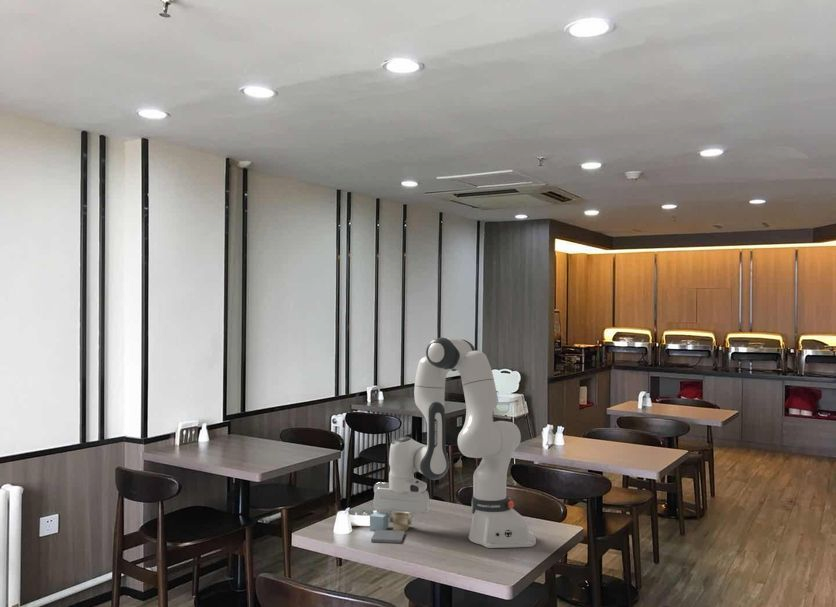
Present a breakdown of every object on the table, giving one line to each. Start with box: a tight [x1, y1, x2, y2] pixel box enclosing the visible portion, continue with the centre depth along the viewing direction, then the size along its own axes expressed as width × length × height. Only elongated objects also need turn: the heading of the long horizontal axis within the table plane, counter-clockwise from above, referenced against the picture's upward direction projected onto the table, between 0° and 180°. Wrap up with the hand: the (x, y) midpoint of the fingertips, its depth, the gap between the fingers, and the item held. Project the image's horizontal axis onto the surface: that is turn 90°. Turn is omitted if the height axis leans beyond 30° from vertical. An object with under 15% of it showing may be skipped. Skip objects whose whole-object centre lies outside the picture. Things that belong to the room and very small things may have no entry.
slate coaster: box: [370, 529, 406, 544], centre depth 228 cm, size 10×10×1 cm
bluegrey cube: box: [369, 511, 389, 532], centre depth 237 cm, size 5×5×5 cm
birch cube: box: [392, 511, 410, 532], centre depth 238 cm, size 5×5×5 cm
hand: (401, 523), depth 238 cm, fingers closed on birch cube, 5 cm apart
